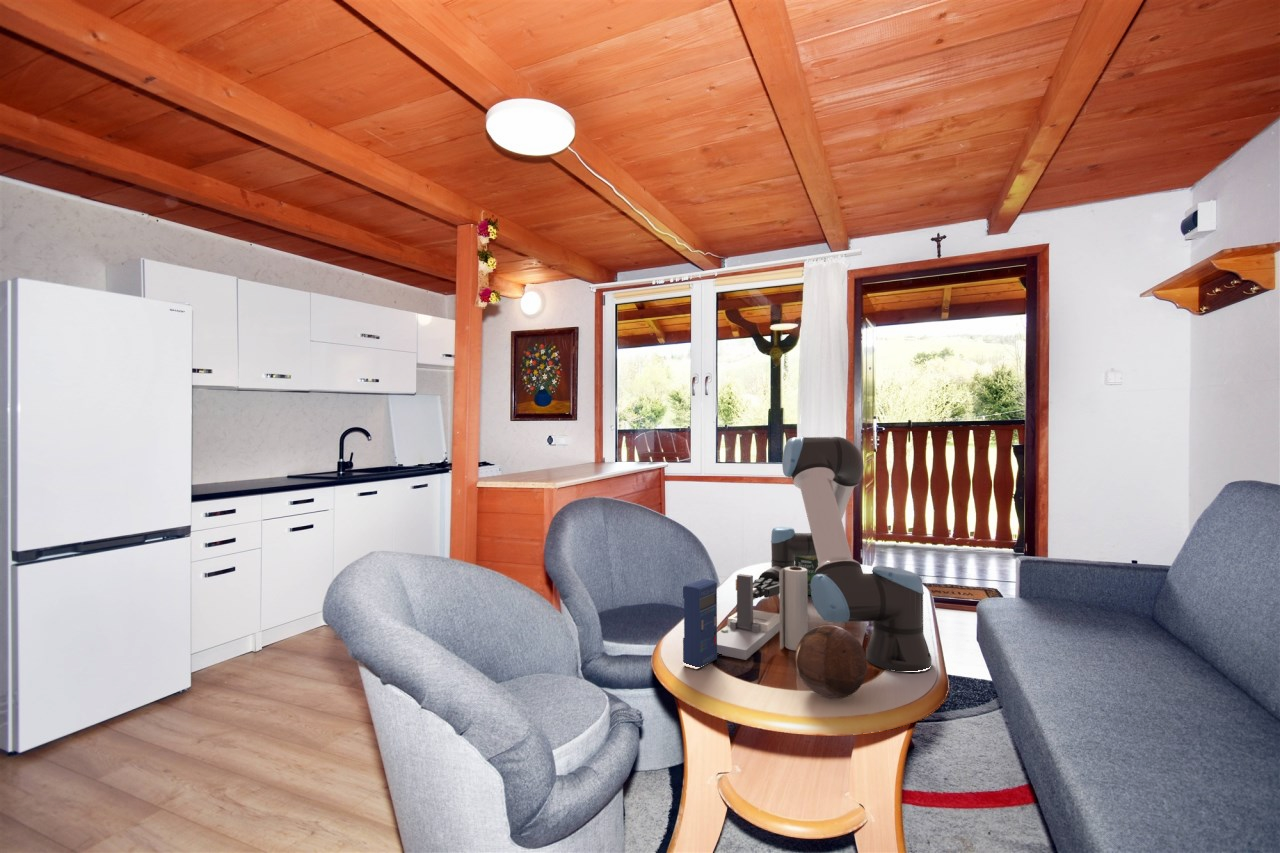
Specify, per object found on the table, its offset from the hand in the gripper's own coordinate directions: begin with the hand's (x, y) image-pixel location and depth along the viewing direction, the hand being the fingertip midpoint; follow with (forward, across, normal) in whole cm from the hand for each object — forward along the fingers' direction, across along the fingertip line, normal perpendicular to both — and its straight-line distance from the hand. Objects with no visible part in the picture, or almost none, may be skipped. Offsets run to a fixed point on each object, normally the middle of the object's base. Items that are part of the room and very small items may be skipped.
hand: (746, 597), depth 171 cm
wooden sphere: (+28, -30, -11) cm, 43 cm away
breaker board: (+3, -1, -11) cm, 11 cm away
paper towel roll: (+2, -14, -11) cm, 18 cm away
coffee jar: (-56, -2, -11) cm, 57 cm away
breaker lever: (+3, -1, -8) cm, 8 cm away
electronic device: (+25, +2, -11) cm, 28 cm away
